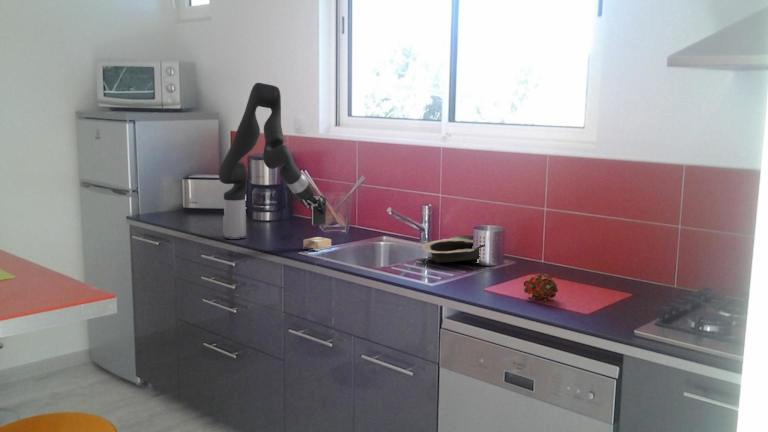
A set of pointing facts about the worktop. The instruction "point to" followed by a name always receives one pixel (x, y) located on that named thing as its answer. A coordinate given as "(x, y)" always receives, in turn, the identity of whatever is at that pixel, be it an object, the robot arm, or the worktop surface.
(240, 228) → the robot arm
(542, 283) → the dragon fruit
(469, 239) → the stone bowl
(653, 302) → the worktop surface
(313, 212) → the battery
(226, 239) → the worktop surface
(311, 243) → the oak slab
